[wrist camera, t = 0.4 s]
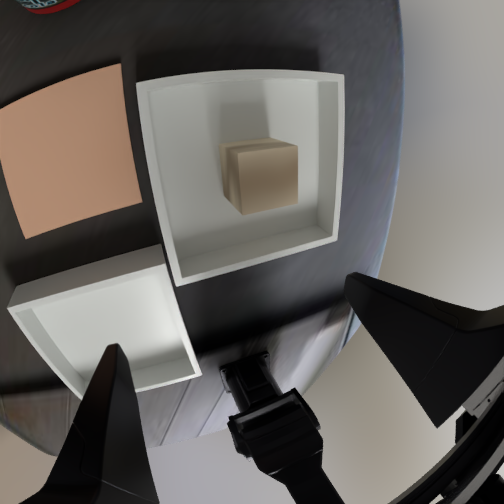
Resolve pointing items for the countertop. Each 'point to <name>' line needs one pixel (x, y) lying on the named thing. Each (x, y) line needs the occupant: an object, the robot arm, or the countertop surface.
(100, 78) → the tile
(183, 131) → the tray
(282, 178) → the beech cube
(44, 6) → the beverage can
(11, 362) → the countertop surface
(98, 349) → the tray
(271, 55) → the countertop surface
